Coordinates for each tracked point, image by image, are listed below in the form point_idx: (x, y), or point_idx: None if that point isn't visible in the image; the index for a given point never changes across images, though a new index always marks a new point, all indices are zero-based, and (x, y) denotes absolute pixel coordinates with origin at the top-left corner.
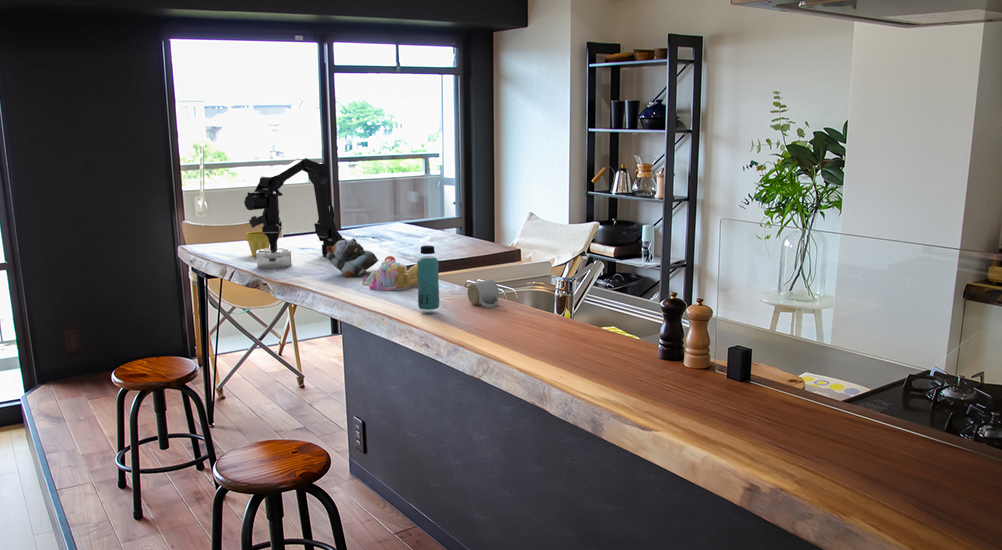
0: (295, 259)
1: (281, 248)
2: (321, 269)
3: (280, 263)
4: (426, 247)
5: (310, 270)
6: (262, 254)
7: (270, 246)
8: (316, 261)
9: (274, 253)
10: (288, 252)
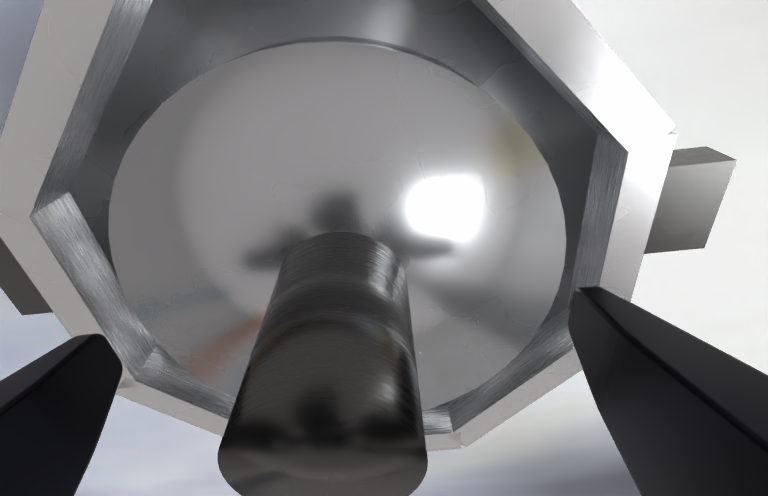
0: (707, 301)
1: (574, 347)
2: (213, 481)
3: None
4: None
5: (167, 442)
6: (18, 132)
7: (10, 375)
8: (531, 433)
9: (75, 334)
10: None
